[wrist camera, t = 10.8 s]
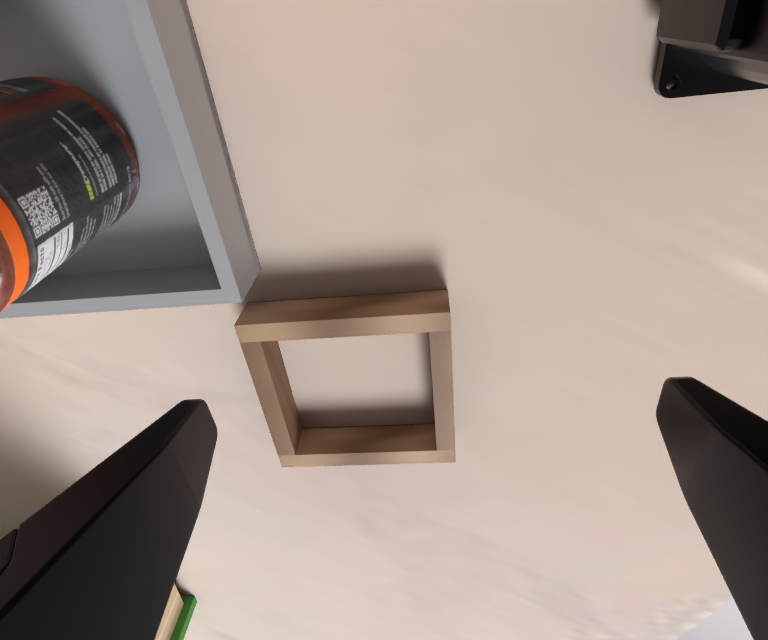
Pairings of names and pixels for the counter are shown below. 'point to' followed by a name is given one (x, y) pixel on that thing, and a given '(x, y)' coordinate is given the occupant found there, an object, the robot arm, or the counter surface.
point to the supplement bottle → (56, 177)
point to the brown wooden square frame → (346, 319)
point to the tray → (140, 156)
